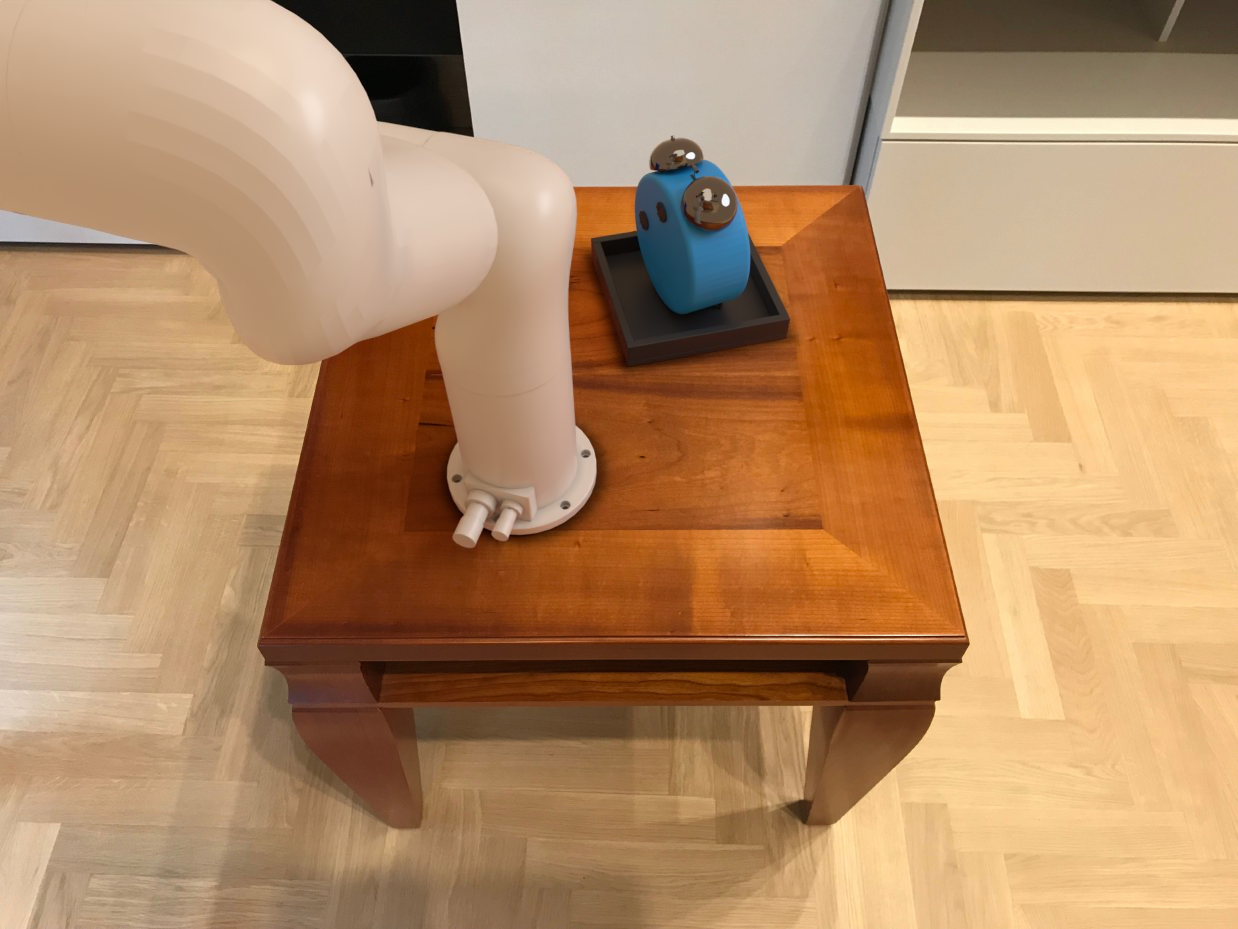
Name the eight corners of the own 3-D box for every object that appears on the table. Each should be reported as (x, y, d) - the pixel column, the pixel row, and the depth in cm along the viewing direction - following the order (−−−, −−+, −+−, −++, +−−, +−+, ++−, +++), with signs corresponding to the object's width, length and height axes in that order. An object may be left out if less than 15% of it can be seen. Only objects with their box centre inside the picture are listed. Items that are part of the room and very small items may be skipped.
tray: (786, 338, 90) (790, 318, 88) (627, 367, 88) (627, 347, 86) (736, 233, 99) (739, 213, 97) (591, 257, 97) (590, 237, 95)
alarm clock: (744, 326, 90) (762, 197, 78) (685, 345, 89) (695, 216, 77) (685, 243, 97) (694, 112, 85) (630, 259, 96) (631, 128, 84)
